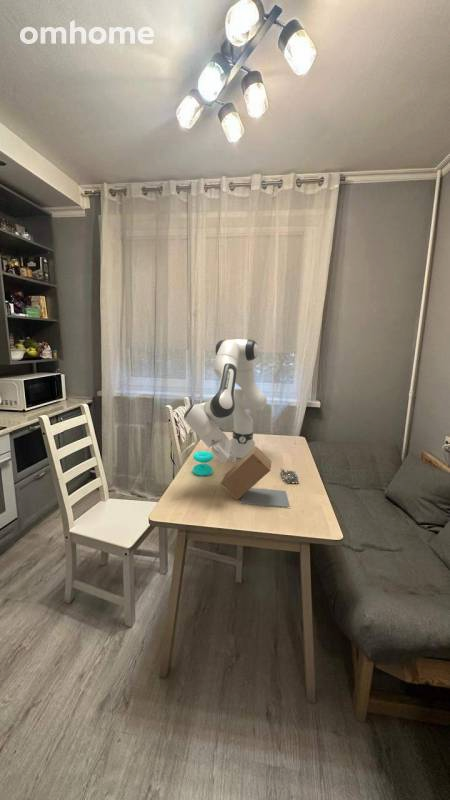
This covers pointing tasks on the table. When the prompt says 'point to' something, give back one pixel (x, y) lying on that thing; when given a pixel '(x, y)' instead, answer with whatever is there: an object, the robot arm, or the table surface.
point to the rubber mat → (265, 498)
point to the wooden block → (246, 473)
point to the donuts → (203, 458)
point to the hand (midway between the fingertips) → (235, 460)
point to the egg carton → (289, 476)
